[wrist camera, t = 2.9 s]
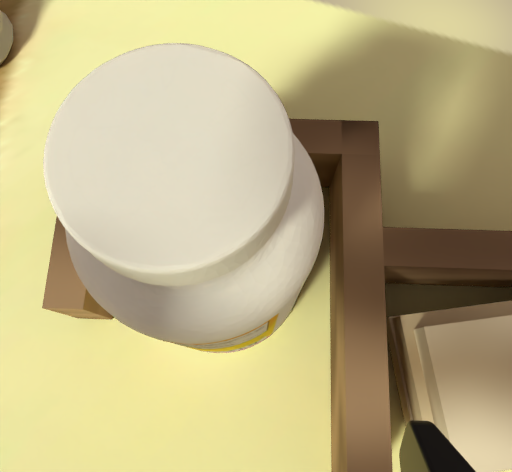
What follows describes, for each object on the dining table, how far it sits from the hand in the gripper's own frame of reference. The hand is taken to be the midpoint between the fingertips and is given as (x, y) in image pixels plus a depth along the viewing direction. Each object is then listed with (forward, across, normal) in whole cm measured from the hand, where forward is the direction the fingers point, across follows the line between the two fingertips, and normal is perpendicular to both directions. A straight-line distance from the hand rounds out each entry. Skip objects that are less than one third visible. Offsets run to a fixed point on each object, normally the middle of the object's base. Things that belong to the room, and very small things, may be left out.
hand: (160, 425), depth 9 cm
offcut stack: (+9, -11, +8) cm, 16 cm away
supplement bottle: (+12, 0, +5) cm, 13 cm away
